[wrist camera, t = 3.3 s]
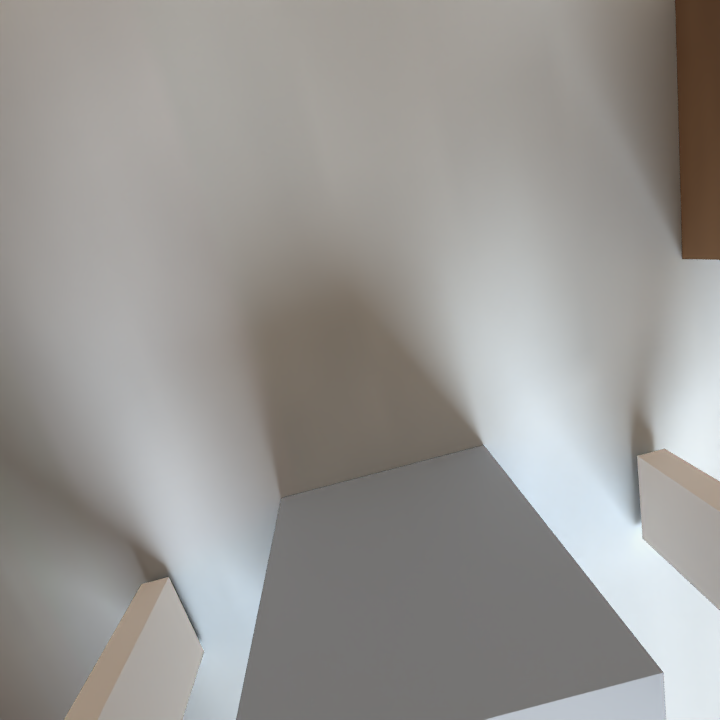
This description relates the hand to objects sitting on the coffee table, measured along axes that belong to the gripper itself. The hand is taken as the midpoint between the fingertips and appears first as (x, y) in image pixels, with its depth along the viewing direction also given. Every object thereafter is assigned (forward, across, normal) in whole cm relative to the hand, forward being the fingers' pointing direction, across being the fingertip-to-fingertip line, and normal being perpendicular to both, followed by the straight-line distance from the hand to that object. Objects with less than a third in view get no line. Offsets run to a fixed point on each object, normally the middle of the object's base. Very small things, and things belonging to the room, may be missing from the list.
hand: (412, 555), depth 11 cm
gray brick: (0, 0, 0) cm, 0 cm away
